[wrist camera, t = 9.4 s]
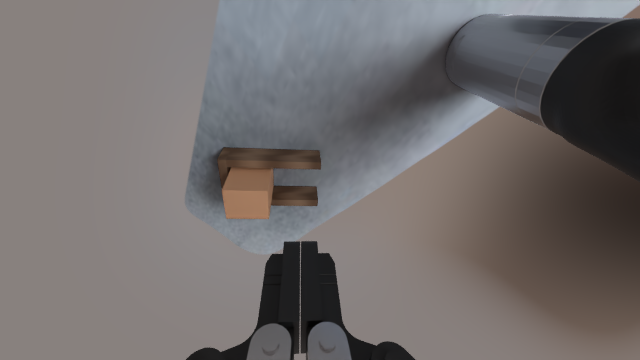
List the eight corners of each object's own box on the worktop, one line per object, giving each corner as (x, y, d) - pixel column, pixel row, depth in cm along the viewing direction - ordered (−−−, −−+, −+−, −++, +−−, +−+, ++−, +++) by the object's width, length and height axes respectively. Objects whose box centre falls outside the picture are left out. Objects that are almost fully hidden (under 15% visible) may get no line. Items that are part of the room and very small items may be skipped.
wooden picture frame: (319, 150, 43) (321, 162, 39) (316, 192, 47) (317, 205, 44) (223, 147, 41) (217, 159, 38) (229, 190, 46) (224, 204, 42)
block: (273, 158, 43) (267, 191, 35) (273, 184, 45) (268, 218, 38) (235, 157, 42) (221, 190, 34) (238, 183, 45) (226, 218, 37)
